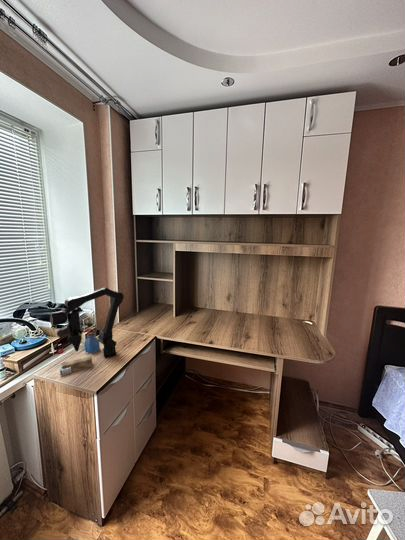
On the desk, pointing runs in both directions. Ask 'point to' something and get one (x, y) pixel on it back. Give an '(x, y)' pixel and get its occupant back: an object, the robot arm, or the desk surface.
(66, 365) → the rail
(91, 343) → the perfume bottle
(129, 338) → the desk surface
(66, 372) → the bracket
